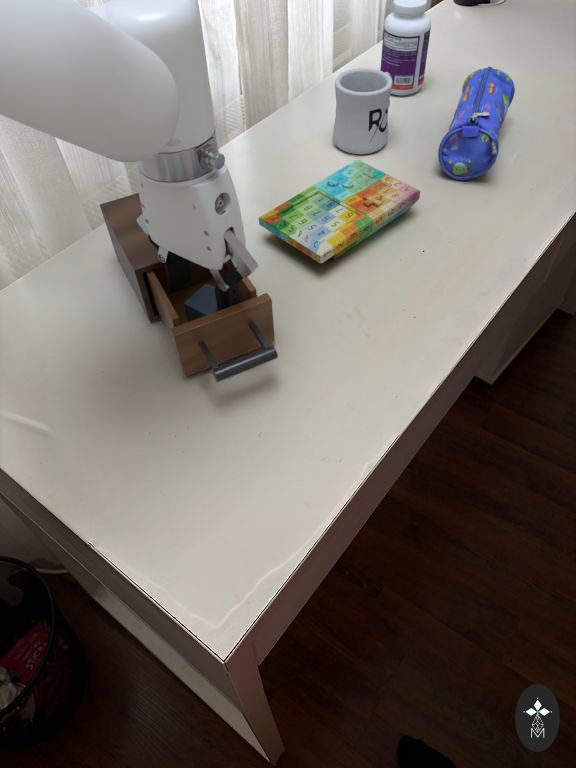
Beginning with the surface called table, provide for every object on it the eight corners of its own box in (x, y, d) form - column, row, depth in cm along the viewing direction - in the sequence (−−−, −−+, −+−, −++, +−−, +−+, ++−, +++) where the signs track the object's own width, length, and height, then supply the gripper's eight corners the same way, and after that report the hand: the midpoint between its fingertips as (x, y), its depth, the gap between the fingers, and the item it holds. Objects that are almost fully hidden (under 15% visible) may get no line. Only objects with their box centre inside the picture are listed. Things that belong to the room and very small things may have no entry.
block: (214, 341, 69) (210, 316, 65) (189, 327, 70) (183, 302, 67) (236, 320, 71) (232, 295, 67) (210, 307, 72) (205, 282, 69)
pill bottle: (403, 73, 113) (412, -12, 102) (431, 89, 109) (445, 1, 98) (369, 85, 111) (376, -1, 100) (397, 102, 107) (407, 13, 95)
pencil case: (488, 190, 89) (504, 129, 81) (431, 180, 91) (441, 120, 83) (507, 119, 101) (523, 61, 94) (457, 112, 103) (468, 54, 96)
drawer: (297, 374, 66) (295, 332, 61) (203, 413, 63) (193, 372, 58) (229, 275, 77) (223, 232, 72) (147, 304, 74) (134, 262, 69)
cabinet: (242, 290, 77) (235, 236, 70) (150, 323, 74) (134, 270, 67) (201, 229, 85) (191, 176, 78) (116, 257, 82) (99, 204, 75)
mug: (365, 162, 95) (370, 100, 87) (321, 144, 98) (322, 83, 91) (408, 131, 100) (416, 69, 92) (365, 115, 104) (369, 55, 96)
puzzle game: (421, 185, 82) (319, 250, 74) (416, 213, 86) (319, 279, 78) (359, 154, 88) (258, 212, 79) (357, 182, 91) (260, 240, 83)
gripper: (278, 158, 52) (285, 306, 66) (137, 109, 59) (171, 252, 73) (225, 200, 48) (245, 347, 62) (80, 143, 55) (128, 287, 69)
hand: (205, 295), depth 67 cm, fingers open, 6 cm apart
